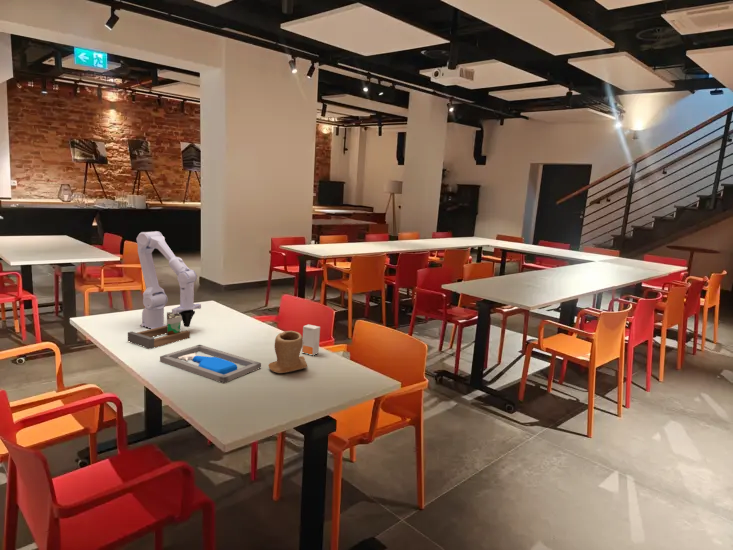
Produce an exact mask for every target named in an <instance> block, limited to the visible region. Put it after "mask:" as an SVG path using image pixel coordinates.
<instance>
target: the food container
mask: <svg viewBox="0 0 733 550" xmlns="http://www.w3.org/2000/svg"><path fill="white" fill-rule="evenodd" d="M182 322H183V320H182V316H181V314H179V313H177V314H173V313H172V311H170V312H168V311H167V312H166V325H167V334H168V335H171V334H175V333H178V332H181V323H182ZM167 334H166V335H167Z"/></svg>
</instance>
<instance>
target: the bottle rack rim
mask: <svg viewBox="0 0 733 550" xmlns="http://www.w3.org/2000/svg"><path fill="white" fill-rule="evenodd" d="M198 352H200V353H202V354H206V355H209V356H211V357H217V358H221V359H224V360H227V361H230V362H233V363H234V364H239V365H241V366H242V367H240V368H237V370H235V371H232V372H230V373H227V374H224V375H223V374H220V373H217V372H214V371H211V370H208V369H205V368H202V367H199V366H198V365H196V364H193V363H191V362H190V363H189V362H188V361H185V360H182V359H181V360H178V357H181V356H184V355H188V354H192V353H196V354H197V353H198ZM160 361H161V362H160ZM159 362H160V363H164V364H167V365H169V366H172V367H175V368H178V369H181V370H185V371H187V372H190V373H193V374H196V375H199V376H200V377H201V376H202V377H204V378H208V379H210V378H211V379H210V380H213V379H214V380H213V381H216V380H217V381H216V382H219V381H220V382H219V383H222V382H223V383H222V384H226V383H228V382H230V381H233V380H235V379H238V378H240V377H242V375H243V376H244V374H245V375H248V374H249V372H250V373H252V372H254V371H253V370H255V371H257V370H259V369H258V368H260V367H261V368H262V363H261V362H258V361H256V360H252V359H249V358H245V357H243V356H240V355H236V354H232V353H229V352H226V351H222V350H218V349H215V348H213V347H210V346H206V345H202V344H197V345H194V346H190V347H186V348H184V349H181V350H177V351H173V352H170V353H167V354H163V355H160V356H159ZM261 368H260V369H261ZM256 369H257V370H256ZM251 371H252V372H251ZM247 373H248V374H247ZM239 376H240V377H239ZM237 377H238V378H237ZM234 378H235V379H234ZM232 379H233V380H232ZM227 381H228V382H227ZM225 382H226V383H225Z"/></svg>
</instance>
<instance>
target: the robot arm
mask: <svg viewBox="0 0 733 550" xmlns="http://www.w3.org/2000/svg"><path fill="white" fill-rule="evenodd" d="M165 239H166V237H165V236H163V234H162V232H160V231H157V230H155V231H141V232H140V233H139V234H138V235H137V237H136V245H137V254H138V258H139V263H140V266H141V272H142V276H143V280H144V284H145V288H146V289H145V290H144V291H143V293H142V296H143V297H142V304H143V306H144V308H143V309H142V312H141V319H142V321H141V322H142V323H141V324H140V327H143V326H145V327H144V328H146V327H148V328H147V329H149V328H151V329H154V328H158V327H162V326H167V324H165V307H166V305H167V304H168V302H169V301H168V300H169V299H168V296H167V294H166V292H165V289H164V288H163V287H161V286H160V283H159V280H158V276H157V272H156V271H157V270H156V266H155V263H154V259H153V252H154V250H155V249H156V250H158V251H159V252H160V254H162V255H163V257H164V258H165V259H166V260H167V261H168V266H169V267H170V268H171V270H172V271H173V272H174V273H175V275H176V276H177V277H176V279H177V282H178V283H179V293H180V294H179V295H180V297H179V306H177V307H175V308H172V309H171V312H172V313H173V314H177V313H179V314H181V316H182V324H183V327H185V328H189V327H190V325H191V321H192V319H193V317H194V315H195V314H196V311H195V310H197V309H199V310H201V309H202V304H200V303H194V302H195V301H194V299H195V294H194V293H195V291H194V290H195V282H196V281H197V272H196V270H194V269H191V268H189V267H188V266H187V264H186V263H185V262H184V260H183V259H182V258H181V257H180V256H176V254H174V252H173V250H171V249H172V248H170V247H169V245H168V244H167V242H166V240H165Z"/></svg>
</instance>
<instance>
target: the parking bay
mask: <svg viewBox="0 0 733 550" xmlns="http://www.w3.org/2000/svg"><path fill="white" fill-rule="evenodd" d="M136 333H139V334H142V335H145V336H148V337H152V338H154V337H153V336H155V338H154V347H155V348H158V346H159V347H161V346H166V345H168V344H173V343H177V342H180V341H183V339H184V340H187V339H190V338H191V337H190V333H191V332H190V330H183V331H180V332H178V333H175V334H171V335H167V334H166V335H165V333H167V326H162V327H158V328H154V329H145V330H142V331H139V332H136ZM161 334H163V335H164V336H163V335H161ZM157 335H159V336H157ZM179 340H180V341H179ZM176 341H177V342H176ZM172 342H173V343H172ZM165 344H166V345H165Z"/></svg>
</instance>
